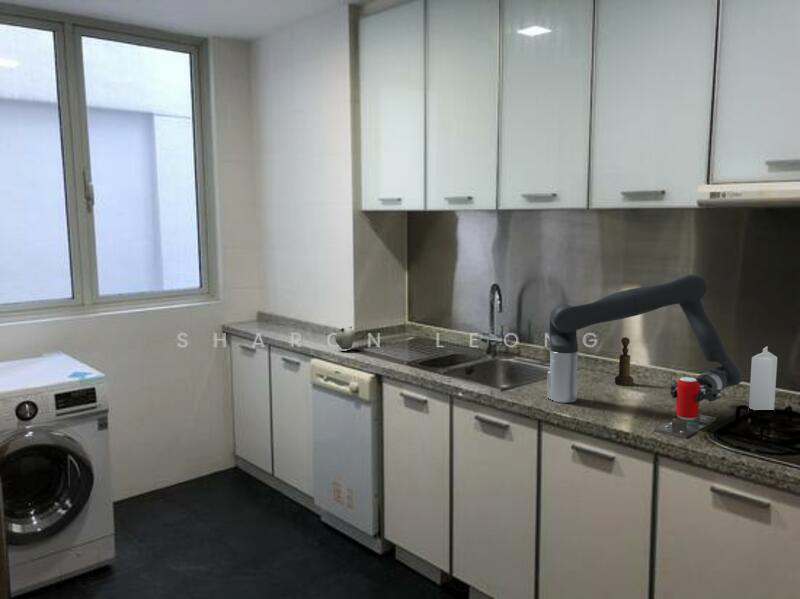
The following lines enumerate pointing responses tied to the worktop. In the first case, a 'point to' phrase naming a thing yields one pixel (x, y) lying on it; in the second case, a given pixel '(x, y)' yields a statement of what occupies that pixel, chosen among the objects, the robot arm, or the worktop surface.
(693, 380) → the beverage can
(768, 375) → the milk
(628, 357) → the brown wooden figurine
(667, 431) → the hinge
